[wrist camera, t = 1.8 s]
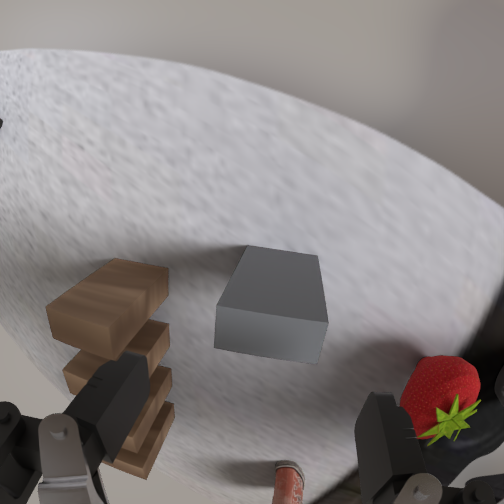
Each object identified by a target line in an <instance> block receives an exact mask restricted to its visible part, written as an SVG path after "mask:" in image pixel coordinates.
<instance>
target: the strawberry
mask: <svg viewBox="0 0 504 504" xmlns="http://www.w3.org/2000/svg"><path fill="white" fill-rule="evenodd" d="M479 390H480V380H479V376H478V373H477V370H476V368H475V367H474V366H473V365H471V364H470V363H468V362H467V361H465V360H464V359H462V358H460V357H456V356H443V355H440V356H434V357H424V358H422V359H421V360H420V361H419V362H418V364H417V366H416V369H415V370H414V372H413V373H412V375H411V377H410V379H409V381H408V383H407V385H406V387H405V390H404V392H403V394H402V397H401V400H400V407H403V408H404V409H405V410H406V411H407V413H408V414H409V415H410V416H411V419H412V423H413V426H414V430H415V432H416V436H417V438H418V439H427V438H432V437H434V438H433V439H432V440H431V441H430V443H429V444H428V446H429V445H430V444H432V443H433V442H435V441H436V440H438V439H439V438H440V437H442V436H443V435H445V436H447V437H448V438H449V439H450V437H451V435H452V433H453V431H454V430H457V429H459V431H460V429H463V428H469V425H468V424H467V423H466V422H465V421H464V419H466V418H467V417H469V416H471V415H472V414H474V413H475V412H477V410H474V411H472V410H473V409H474V408H475V407H476V406H477V405H478V404H479V403H480V402H481V399H480V400H479V401H477V402H476V399H477V397H478V394H479ZM459 431H458V433H459ZM458 433H457V435H458ZM457 435H456V437H457ZM456 437H455V439H456ZM455 439H454V441H455Z"/></svg>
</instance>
